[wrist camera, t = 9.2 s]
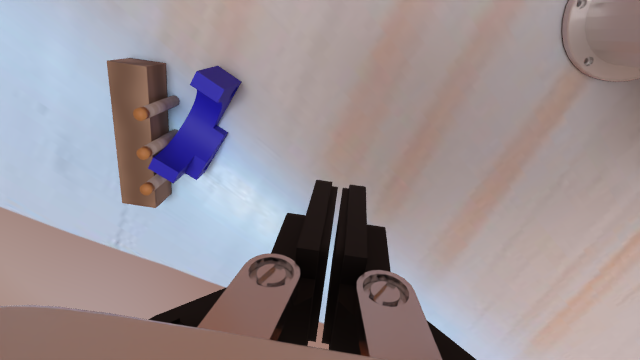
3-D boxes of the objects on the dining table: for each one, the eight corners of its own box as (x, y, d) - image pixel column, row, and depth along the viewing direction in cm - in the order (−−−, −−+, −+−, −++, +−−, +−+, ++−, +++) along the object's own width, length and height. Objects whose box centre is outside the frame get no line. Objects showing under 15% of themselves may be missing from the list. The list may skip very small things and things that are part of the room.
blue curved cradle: (206, 170, 43) (185, 190, 37) (173, 150, 42) (147, 168, 37) (253, 89, 39) (238, 98, 33) (218, 65, 38) (196, 71, 32)
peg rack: (178, 65, 38) (142, 72, 31) (182, 194, 44) (153, 224, 38) (129, 58, 38) (83, 63, 31) (140, 188, 44) (104, 216, 38)
